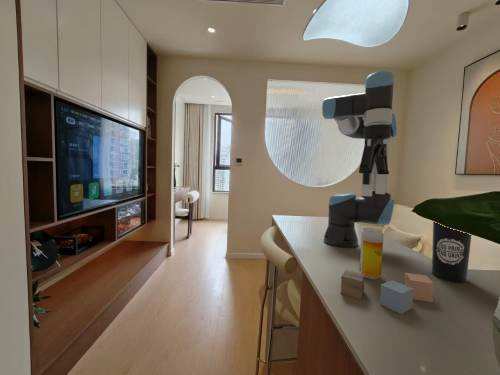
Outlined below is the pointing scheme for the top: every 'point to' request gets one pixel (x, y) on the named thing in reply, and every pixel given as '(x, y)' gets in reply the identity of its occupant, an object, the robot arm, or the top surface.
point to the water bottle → (450, 254)
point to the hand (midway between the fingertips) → (373, 195)
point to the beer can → (371, 253)
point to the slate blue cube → (396, 296)
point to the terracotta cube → (420, 286)
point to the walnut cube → (352, 284)
